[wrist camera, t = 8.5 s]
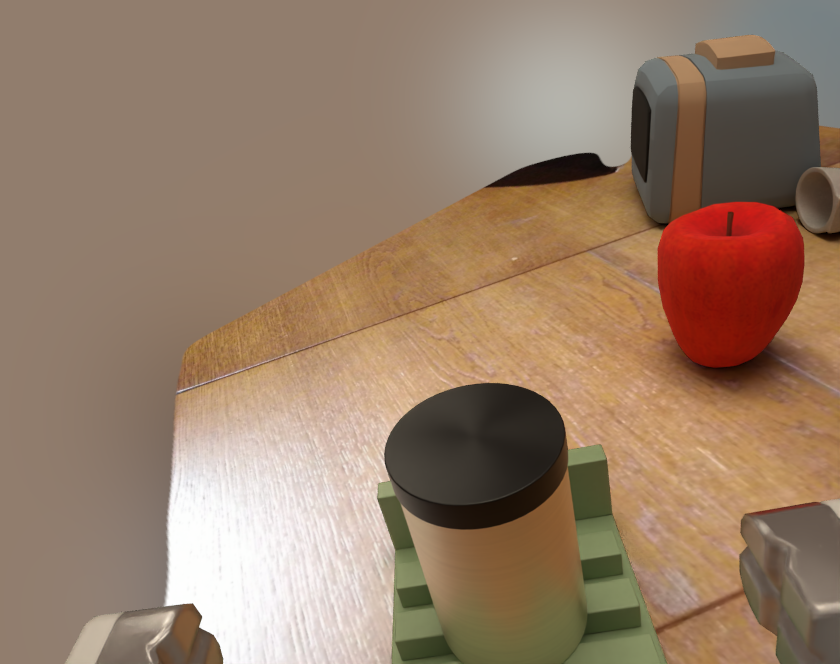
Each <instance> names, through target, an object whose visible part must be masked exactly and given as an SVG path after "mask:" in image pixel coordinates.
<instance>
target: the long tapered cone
mask: <svg viewBox="0 0 840 664" xmlns="http://www.w3.org/2000/svg"><path fill="white" fill-rule="evenodd" d="M795 200H796V209H797V213H798V216H799V219H800V221H801V222H802V224H803V225H804V227H805V228H806V229H808V230H809V231H811V232H813V233H823V232H828V233H835V232H840V168H824V167H812V168H809V169H808V170H806V171H805V172H804V173H803V174H802V176H801V177H800V179H799V182H798V185H797V188H796V197H795Z"/></svg>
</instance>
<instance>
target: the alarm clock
mask: <svg viewBox="0 0 840 664" xmlns="http://www.w3.org/2000/svg"><path fill="white" fill-rule="evenodd" d="M631 153H632V174H633V178H634V181H635V183H636V186H637V188H638V191H639V193H640V196H641V199H642V201H643V204H644V206H645V209H646V211H647V214H648V216H650V217H651V218H652V219H653V220H655V221H656V222H658V223H666V224H667V223H670V222H671V221H673V220H675V219H677V218H679V217H681V216H683V215H685V214H688V213H691V212H693V211H696V210H699V209H702V208H704V207H707V206H710V205H713V204H720V203H729V202H758V203H762V204H767V205H771V206H774V207H776V208H783V207H790V206H796V200H795V197H796V188H797V185H798V182H799V179H800V177H801V176H802V174H803V173H804V172H805V171H806V170H808V169H809V168H812V167H821V163H820V142H819V121H818V100H817V87H816V83H815V80H814V77H813V75H812V74H811V73H810V72H808V71H807V70H806V69H805V68H804V67H802V66H801V65H800V64H799V63H798V62H796V61H795V60H794V59H792V58H791V57H789V56H788V55H786V54H784V53H783V52H780V51H775V50H774V49H773V47H772V46H771V45H770V44H769V43H768V42H767V41H766V40H765V39H763V38H762V37H759V36H755V35H745V36H736V37H729V38H721V39H713V40H705V41H701V42H699V43H697V44H696V47H695V54H687V55H679V56H667V57H657V58H654V59H651V60H648V61H646V62H645V63H644V64H643V65H642V66H641V67H640V68H639V70H638V72H637V76H636V80H635V85H634V89H633V100H632V122H631Z"/></svg>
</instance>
